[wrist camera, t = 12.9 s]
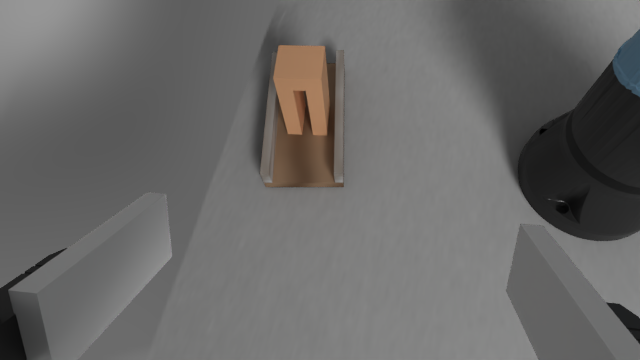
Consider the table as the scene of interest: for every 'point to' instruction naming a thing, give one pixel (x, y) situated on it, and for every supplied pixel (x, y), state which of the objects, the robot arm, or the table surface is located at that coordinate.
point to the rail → (305, 139)
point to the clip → (303, 87)
